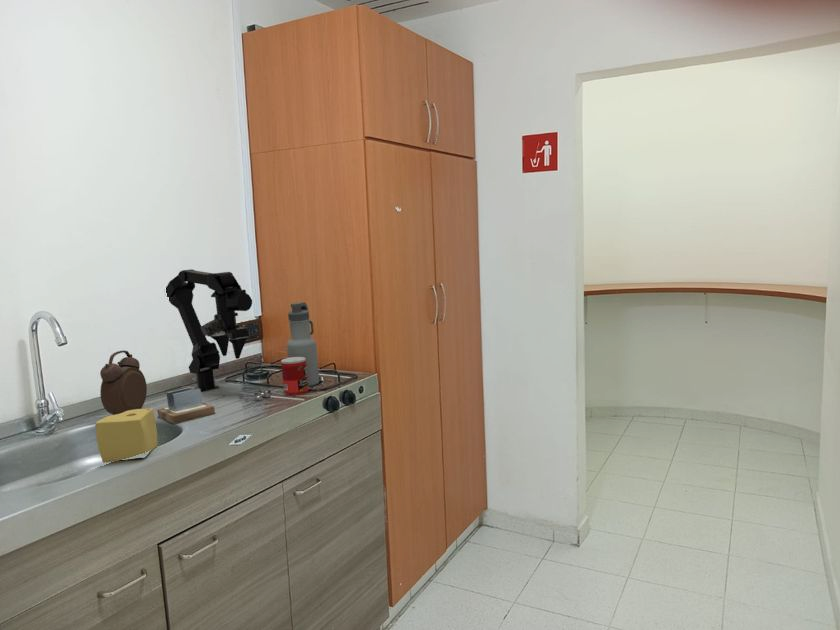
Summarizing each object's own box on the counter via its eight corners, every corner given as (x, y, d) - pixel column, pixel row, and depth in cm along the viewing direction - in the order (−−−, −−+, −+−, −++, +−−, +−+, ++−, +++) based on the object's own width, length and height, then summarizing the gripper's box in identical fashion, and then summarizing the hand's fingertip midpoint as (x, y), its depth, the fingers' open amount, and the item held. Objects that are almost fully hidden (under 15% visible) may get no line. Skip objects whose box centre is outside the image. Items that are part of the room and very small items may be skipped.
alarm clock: (130, 410, 192) (121, 347, 189) (151, 409, 191) (143, 346, 188) (99, 425, 178) (89, 357, 175) (122, 424, 177) (113, 356, 174)
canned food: (303, 395, 196) (300, 361, 194) (280, 395, 197) (276, 362, 196) (312, 389, 203) (309, 356, 202) (289, 389, 205) (286, 357, 203)
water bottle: (296, 380, 216) (289, 301, 213) (323, 380, 215) (316, 300, 211) (286, 388, 207) (278, 305, 203) (314, 387, 205) (306, 304, 201)
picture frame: (158, 417, 182) (157, 408, 182) (197, 407, 190) (196, 399, 190) (174, 424, 173) (173, 415, 173) (214, 413, 181) (213, 405, 181)
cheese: (117, 449, 155) (111, 410, 154) (161, 445, 156) (156, 406, 154) (99, 464, 145) (93, 423, 143) (146, 459, 145) (141, 418, 144)
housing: (195, 402, 186) (193, 386, 185) (202, 405, 182) (200, 388, 182) (168, 408, 180) (166, 392, 180) (175, 411, 177) (173, 394, 176)
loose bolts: (244, 400, 195) (244, 393, 194) (261, 393, 202) (261, 387, 201) (259, 401, 192) (259, 394, 192) (276, 394, 199) (275, 387, 199)
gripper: (190, 312, 204) (195, 359, 206) (215, 315, 190) (220, 364, 192) (221, 308, 211) (226, 352, 213) (248, 310, 198) (253, 358, 200)
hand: (231, 357), depth 204 cm, fingers open, 9 cm apart
